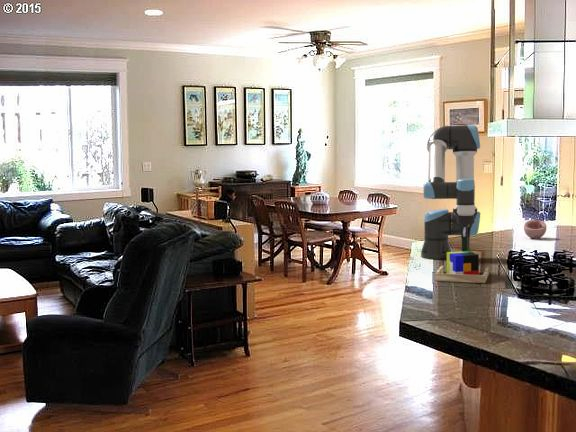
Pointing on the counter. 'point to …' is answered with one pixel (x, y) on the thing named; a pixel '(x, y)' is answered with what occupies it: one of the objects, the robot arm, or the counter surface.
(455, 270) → the puzzle toy
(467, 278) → the tray
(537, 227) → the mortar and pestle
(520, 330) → the counter surface
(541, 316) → the counter surface
